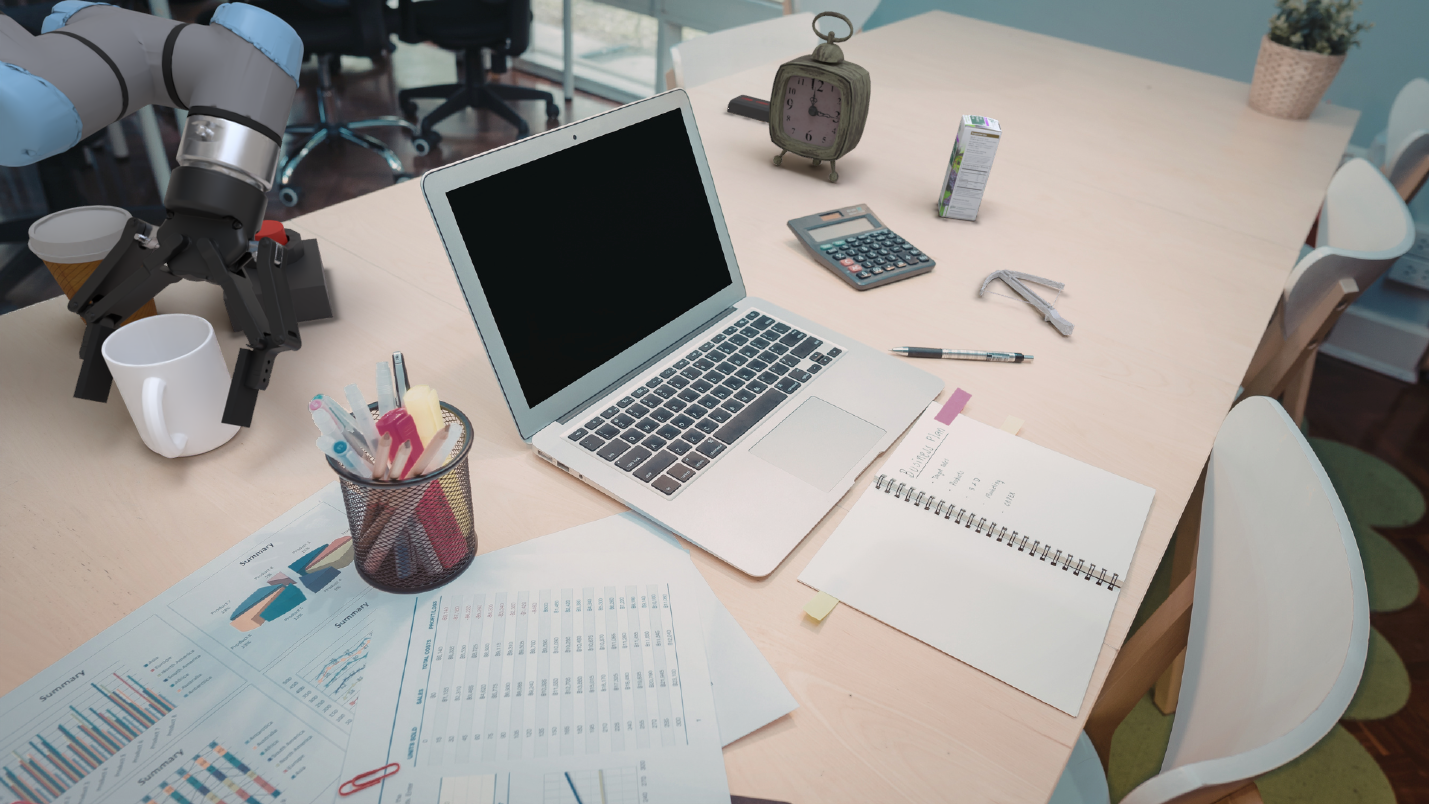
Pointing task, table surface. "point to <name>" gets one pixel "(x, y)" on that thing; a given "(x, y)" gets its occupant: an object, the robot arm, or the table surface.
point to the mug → (172, 382)
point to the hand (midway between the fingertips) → (162, 413)
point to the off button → (272, 231)
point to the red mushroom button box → (295, 281)
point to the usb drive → (750, 107)
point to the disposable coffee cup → (80, 246)
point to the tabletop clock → (819, 102)
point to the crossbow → (1033, 295)
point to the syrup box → (969, 167)
